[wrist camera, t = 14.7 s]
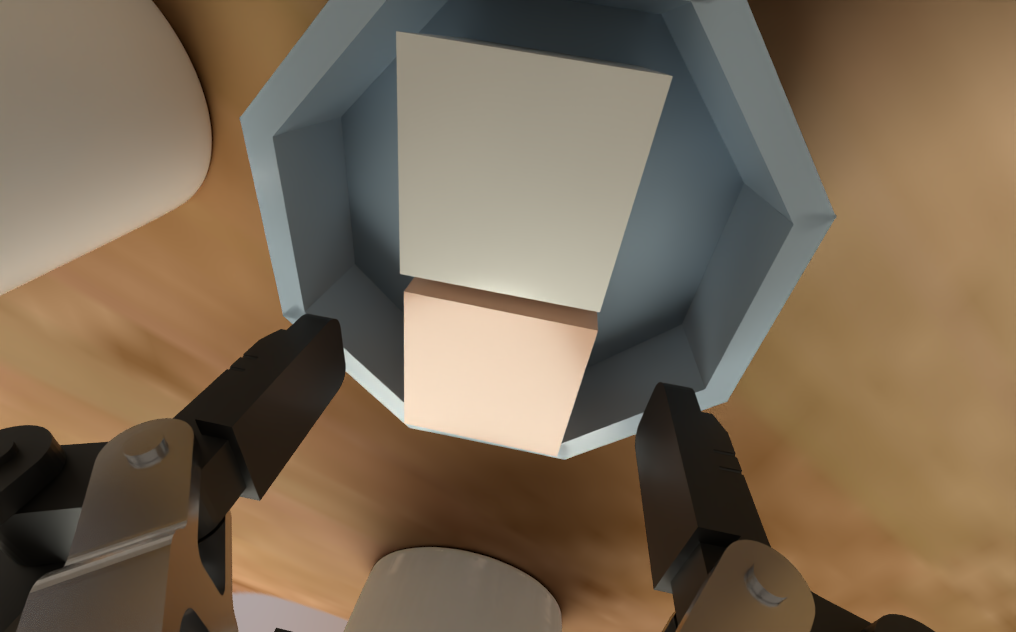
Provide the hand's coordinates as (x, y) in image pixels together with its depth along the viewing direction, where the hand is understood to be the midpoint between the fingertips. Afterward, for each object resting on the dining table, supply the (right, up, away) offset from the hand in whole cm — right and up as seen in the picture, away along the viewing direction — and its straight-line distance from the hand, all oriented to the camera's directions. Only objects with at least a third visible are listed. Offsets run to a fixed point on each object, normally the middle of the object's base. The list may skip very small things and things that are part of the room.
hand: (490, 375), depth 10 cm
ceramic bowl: (+1, +5, +3) cm, 6 cm away
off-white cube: (+1, +6, +1) cm, 7 cm away
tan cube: (+1, +2, +4) cm, 5 cm away
